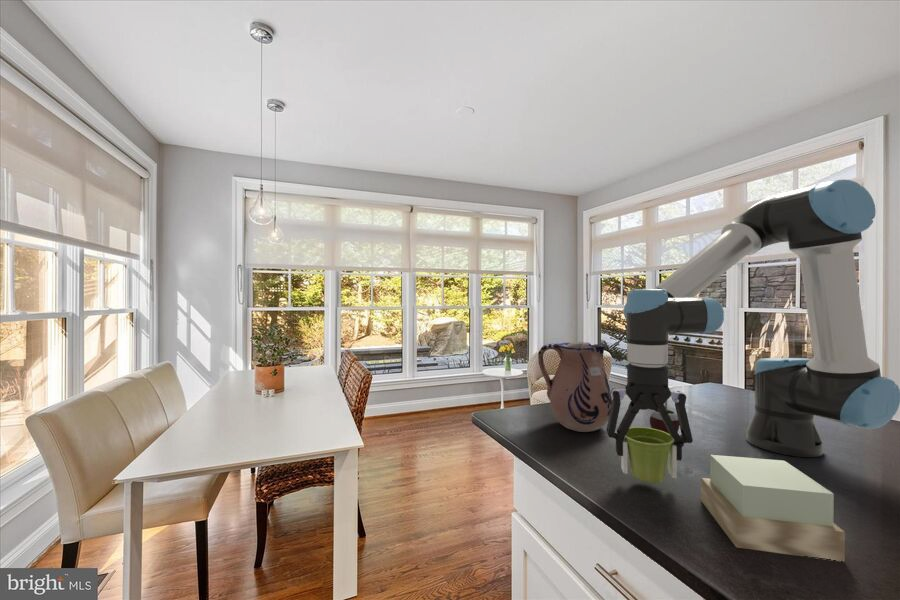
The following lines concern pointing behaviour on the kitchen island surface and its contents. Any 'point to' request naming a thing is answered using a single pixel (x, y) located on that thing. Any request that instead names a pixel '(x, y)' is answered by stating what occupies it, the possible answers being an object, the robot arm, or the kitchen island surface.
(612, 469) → the kitchen island surface
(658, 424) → the mate gourd
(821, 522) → the upper block
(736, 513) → the lower block
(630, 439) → the plant pot
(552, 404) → the ceramic pitcher
